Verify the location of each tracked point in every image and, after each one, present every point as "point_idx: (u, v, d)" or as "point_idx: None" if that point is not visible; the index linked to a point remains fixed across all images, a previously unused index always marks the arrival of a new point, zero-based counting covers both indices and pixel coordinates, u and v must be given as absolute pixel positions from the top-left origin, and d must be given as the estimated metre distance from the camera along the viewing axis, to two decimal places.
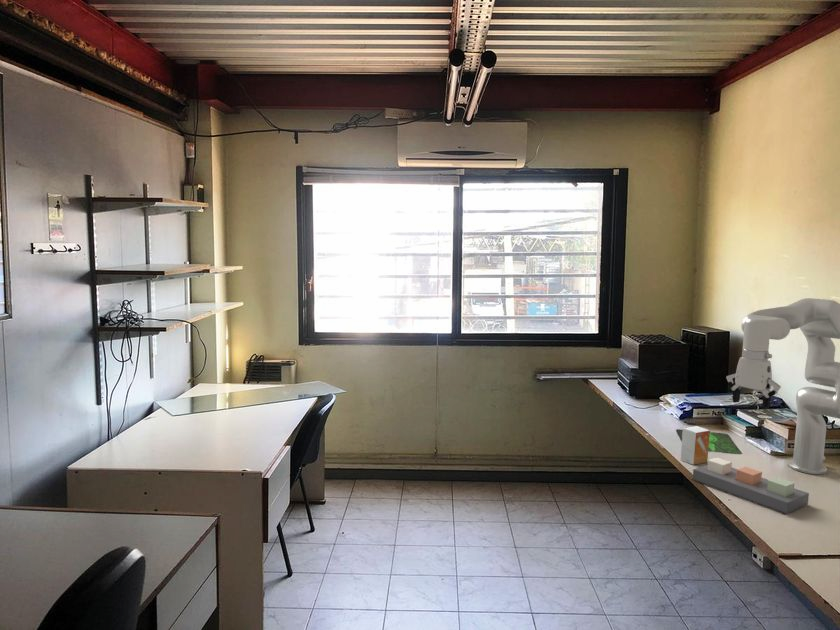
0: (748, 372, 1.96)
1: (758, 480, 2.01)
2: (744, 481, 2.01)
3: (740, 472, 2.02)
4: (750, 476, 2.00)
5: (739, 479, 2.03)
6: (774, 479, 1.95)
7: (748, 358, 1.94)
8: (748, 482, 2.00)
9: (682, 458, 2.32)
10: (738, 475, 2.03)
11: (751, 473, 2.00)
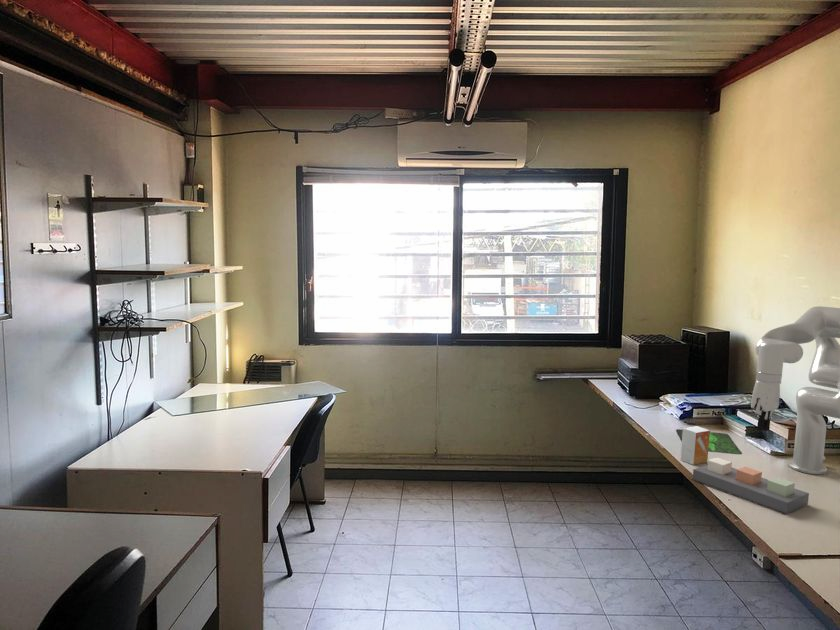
0: (774, 395, 2.01)
1: (758, 480, 2.01)
2: (744, 481, 2.01)
3: (740, 472, 2.02)
4: (750, 476, 2.00)
5: (739, 479, 2.03)
6: (774, 479, 1.95)
7: (779, 382, 2.00)
8: (748, 482, 2.00)
9: (682, 458, 2.32)
10: (738, 475, 2.03)
11: (751, 473, 2.00)
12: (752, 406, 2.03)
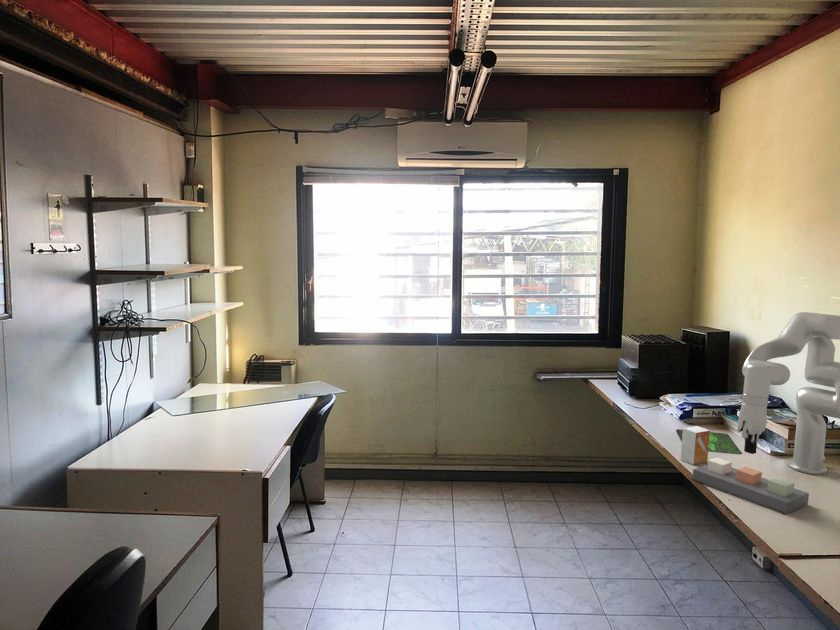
0: (760, 418, 1.98)
1: (758, 480, 2.01)
2: (744, 481, 2.01)
3: (740, 472, 2.02)
4: (750, 476, 2.00)
5: (739, 479, 2.03)
6: (774, 479, 1.95)
7: (766, 405, 1.96)
8: (748, 482, 2.00)
9: (682, 458, 2.32)
10: (738, 475, 2.03)
11: (751, 473, 2.00)
12: (738, 429, 1.99)
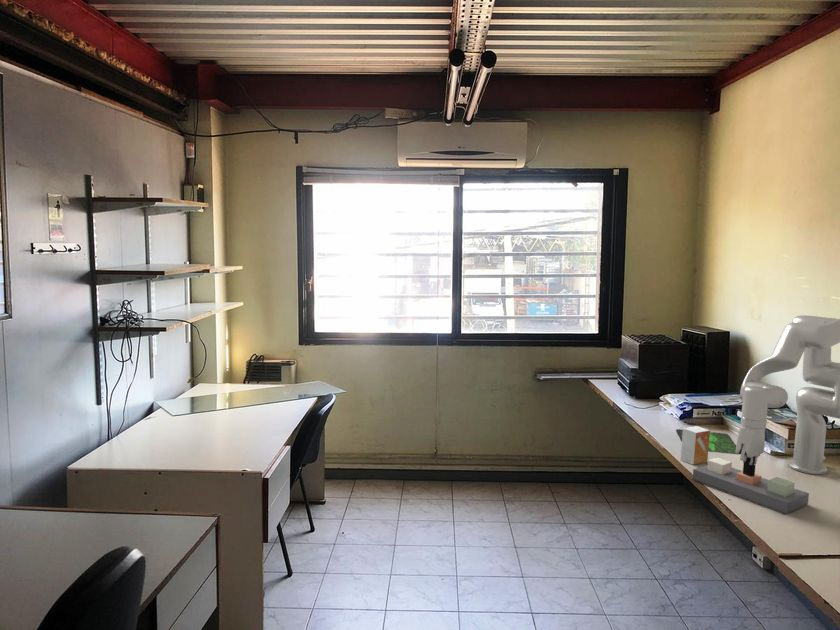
0: (758, 441, 1.99)
1: None
2: None
3: (739, 475, 2.03)
4: (749, 479, 2.00)
5: None
6: (774, 479, 1.95)
7: (764, 428, 1.97)
8: None
9: (682, 458, 2.32)
10: (737, 478, 2.03)
11: (751, 477, 2.00)
12: (737, 452, 2.01)
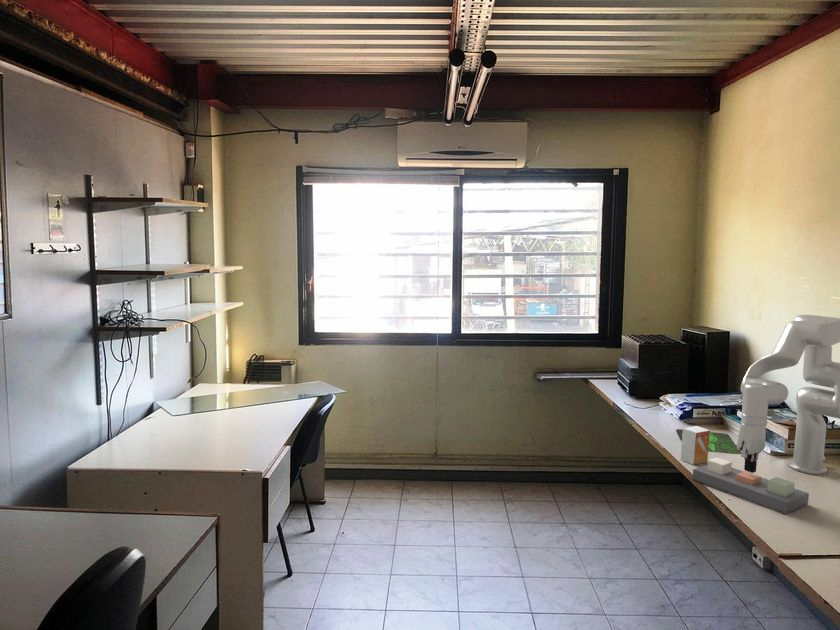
0: (759, 437, 1.99)
1: None
2: None
3: (739, 476, 2.03)
4: (749, 480, 2.00)
5: None
6: (774, 479, 1.95)
7: (764, 424, 1.97)
8: None
9: (682, 458, 2.32)
10: (737, 479, 2.03)
11: (751, 478, 2.01)
12: (738, 449, 2.01)
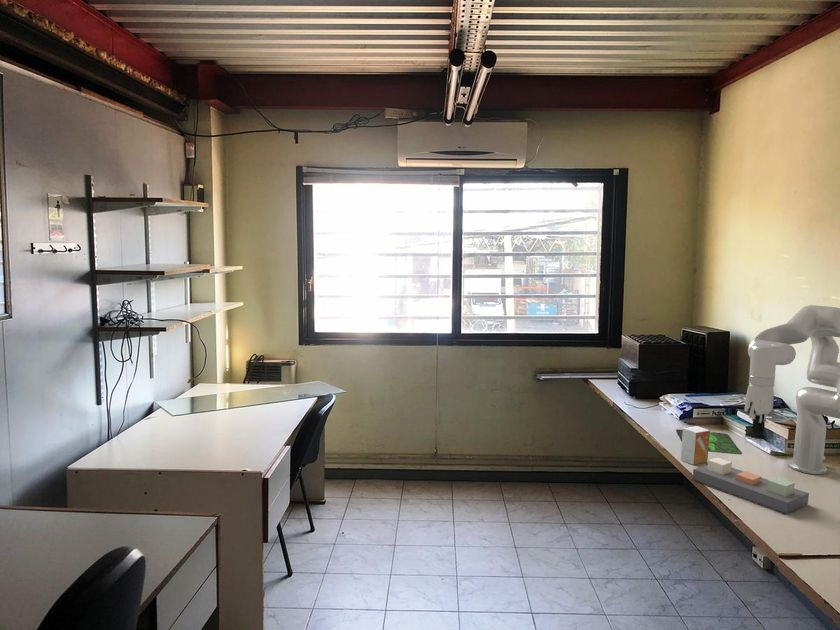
0: (767, 398, 1.99)
1: None
2: None
3: (739, 476, 2.03)
4: (749, 480, 2.00)
5: None
6: (774, 479, 1.95)
7: (772, 385, 1.97)
8: None
9: (682, 458, 2.32)
10: (737, 479, 2.03)
11: (751, 478, 2.01)
12: (746, 410, 2.01)
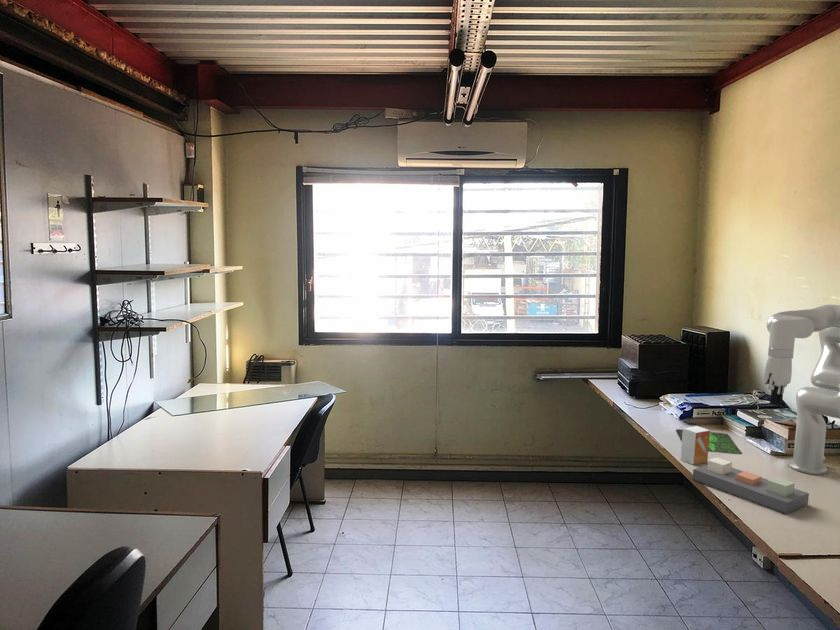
0: (786, 370, 2.04)
1: None
2: None
3: (739, 476, 2.03)
4: (749, 480, 2.00)
5: None
6: (774, 479, 1.95)
7: (791, 357, 2.02)
8: None
9: (682, 458, 2.32)
10: (737, 479, 2.03)
11: (751, 478, 2.01)
12: (765, 381, 2.05)
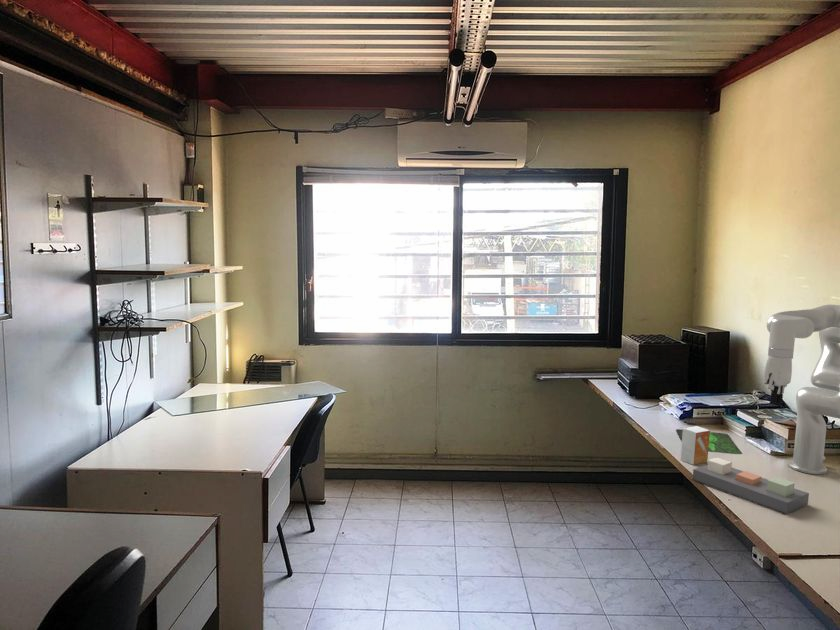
0: (786, 370, 2.04)
1: None
2: None
3: (739, 476, 2.03)
4: (749, 480, 2.00)
5: None
6: (774, 479, 1.95)
7: (791, 357, 2.02)
8: None
9: (682, 458, 2.32)
10: (737, 479, 2.03)
11: (751, 478, 2.01)
12: (765, 381, 2.05)
